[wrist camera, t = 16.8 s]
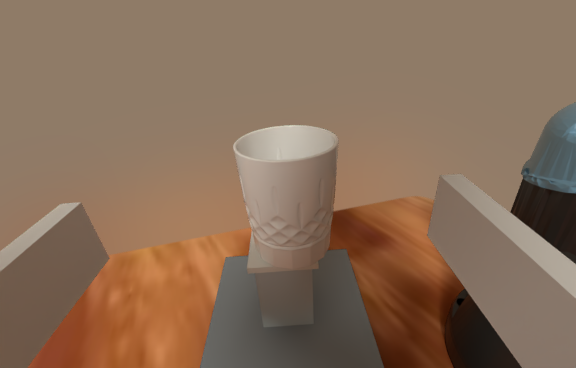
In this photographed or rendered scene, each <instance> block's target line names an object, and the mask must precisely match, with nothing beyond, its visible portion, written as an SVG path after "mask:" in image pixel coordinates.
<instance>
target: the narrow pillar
mask: <svg viewBox="0 0 576 368" xmlns="http://www.w3.org/2000/svg"><path fill="white" fill-rule="evenodd" d="M200 368H384V366H383V363H382V360H381V356H380V353H379V350H378V347H377V344H376V341H375V338H374V335H373V331H372V328H371V325H370V322H369V319H368V316H367V313H366V309H365V306H364V303H363V300H362V297H361V294H360V291H359V288H358V284H357V281H356V278H355V275H354V272H353V269H352V266H351V262H350V259H349V256H348V253H347V250H346V249H338V250H327V252H326V254H325V256H324V257H323V258H322V259H320V260H319V261H317V262H316V263H314V264H312V265H311V266H307V267H303V268H298V269H285V268H277V267H274V266H272V265H271V264H269V263H267V262H265V261H264V260H262V259H261V257H260V255H259V253H258V252H257V250H256V247H255V242H254V237H253V231H252V234H251V241H250V249H249V256H237V257H226V259H225V263H224V267H223V272H222V276H221V280H220V284H219V289H218V293H217V297H216V301H215V306H214V310H213V314H212V318H211V323H210V327H209V331H208V335H207V340H206V344H205V348H204V352H203V357H202V361H201V365H200Z"/></svg>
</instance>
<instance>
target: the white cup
mask: <svg viewBox="0 0 576 368" xmlns="http://www.w3.org/2000/svg"><path fill="white" fill-rule="evenodd" d="M338 142H339V140H338V137H337V136H336V135H335V134H334V133H333V132H331V131H329V130H326V129H323V128H318V127H313V126H302V125H287V126H276V127H269V128H264V129H260V130H256V131H253V132H251V133H248V134H246V135H244V136H242V137H240V138H239V139H238V140H236V142H235V143H234V145H233V150H234V154H235V158H236V164H237V168H238V173H239V178H240V182H241V187H242V192H243V197H244V202H245V205H246V209H247V213H248V218H249V223H250V226H251V229H252V231H253V237H254V242H255V247H256V250H257V252H258V253H259V255H260V257H261V259H262V260H264V261H265V262H267V263H269V264H271V265H272V266H274V267H277V268H285V269H298V268H303V267H307V266H311V265H312V264H314V263H316V262H317V261H319V260H320V259H322V258H323V257H324V256H325V254H326V252H327V250H328V248H329V246H330V232H331V222H332V217H333V204H334V198H335V185H336V170H337V156H338Z"/></svg>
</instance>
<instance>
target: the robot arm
mask: <svg viewBox="0 0 576 368" xmlns="http://www.w3.org/2000/svg"><path fill="white" fill-rule="evenodd" d="M521 174H522V175H523V180H522V182H521V186H520V188H519V191H518V193H517V196H516V199H515V202H514V204H513V207H512V210H511V212H509V211H508V210H506V209H505V208H504V207H503V206H501V205H500V204H499V203H498V202H496V201H495V200H494V199H492V198H491V197H490V196H489V195H487V194H486V193H485V192H484V191H482V190H481V189H480V188H478V187H477V186H476V185H475V184H473V183H472V182H471V181H470V180H468V179H467V178H466V177H465V176H463V175H462V174H452V175H440V177H439V182H438V187H437V192H436V196H435V201H434V206H433V210H432V215H431V220H430V225H429V229H428V234H427V236H428V237H429V239H430V240H431V242H432V243H433V244H434V246H435V247H436V248H437V250H438V251H439V253H440V254H441V255H442V257H443V258H444V260H445V261H446V262H447V264H448V265H449V267H450V268H451V269H452V271H453V272H454V274H455V275H456V276H457V278H458V279H459V281H460V282H461V283H462V285H463V286H464V288H465V289H464V290H463V291H462V292H461V293H459V295H458V296H457V297H456V298H455V300H454V302H453V304H452V306H451V308H450V312H449V315H448V318H447V321H446V325H445V340H446V346H447V350H448V353H449V356H450V359H451V361H452V363H453V366H454V368H576V102H575V103H573V104H571V105H569V106H567V107H565V108H563V109H561V110H560V111H558V112H557V113H556V114H555V115H554V116H553V117H552V118H551V119H550V120H549V121H548V123H547V124H546V126H545V127H544V130H543V132H542V134H541V136H540V138H539V141H538V143H537V145H536V147H535V149H534V151H533V154H532V156H531V158H530V159H529V160H528V161H527V162H526V163H525V164H524V166H523V169H522V172H521ZM108 260H109V256H108V254H107V252H106V250H105V248H104V247H103V245H102V243H101V241H100V239H99V237H98V235H97V233H96V231H95V229H94V227H93V225H92V223H91V221H90V219H89V217H88V215H87V213H86V211H85V209H84V207H83V205H82V203H81V202H80V203H67V204H60V205H59V206H57V207H56V208H55V209H54V210H52V211H51V212H50V213H48V214H47V215H46V216H45V217H43V218H42V219H41V220H40V221H38V222H37V223H36V224H34V225H33V226H32V227H31V228H29V229H28V230H27V231H26V232H24V233H23V234H22V235H20V236H19V237H18V238H17V239H15V240H14V241H13V242H12V243H10V244H9V245H8V246H7V247H5V248H4V249H3V250H1V251H0V368H27V367H28V366H29V365H30V363H31V362H32V361H33V359H34V358H35V357H36V355H37V354H38V353H39V351H40V350H41V349H42V347H43V346H44V345H45V343H46V342H47V341H48V339H49V338H50V337H51V335H52V334H53V333H54V331H55V330H56V329H57V327H58V326H59V325H60V323H61V322H62V321H63V319H64V318H65V317H66V315H67V314H68V313H69V312H70V310H71V309H72V308H73V306H74V305H75V304H76V302H77V301H78V300H79V298H80V297H81V296H82V294H83V293H84V292H85V290H86V289H87V288H88V286H89V285H90V284H91V282H92V281H93V280H94V278H95V277H96V276H97V274H98V273H99V272H100V270H101V269H102V268H103V266H104V265H105V264H106V262H107V261H108Z"/></svg>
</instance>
